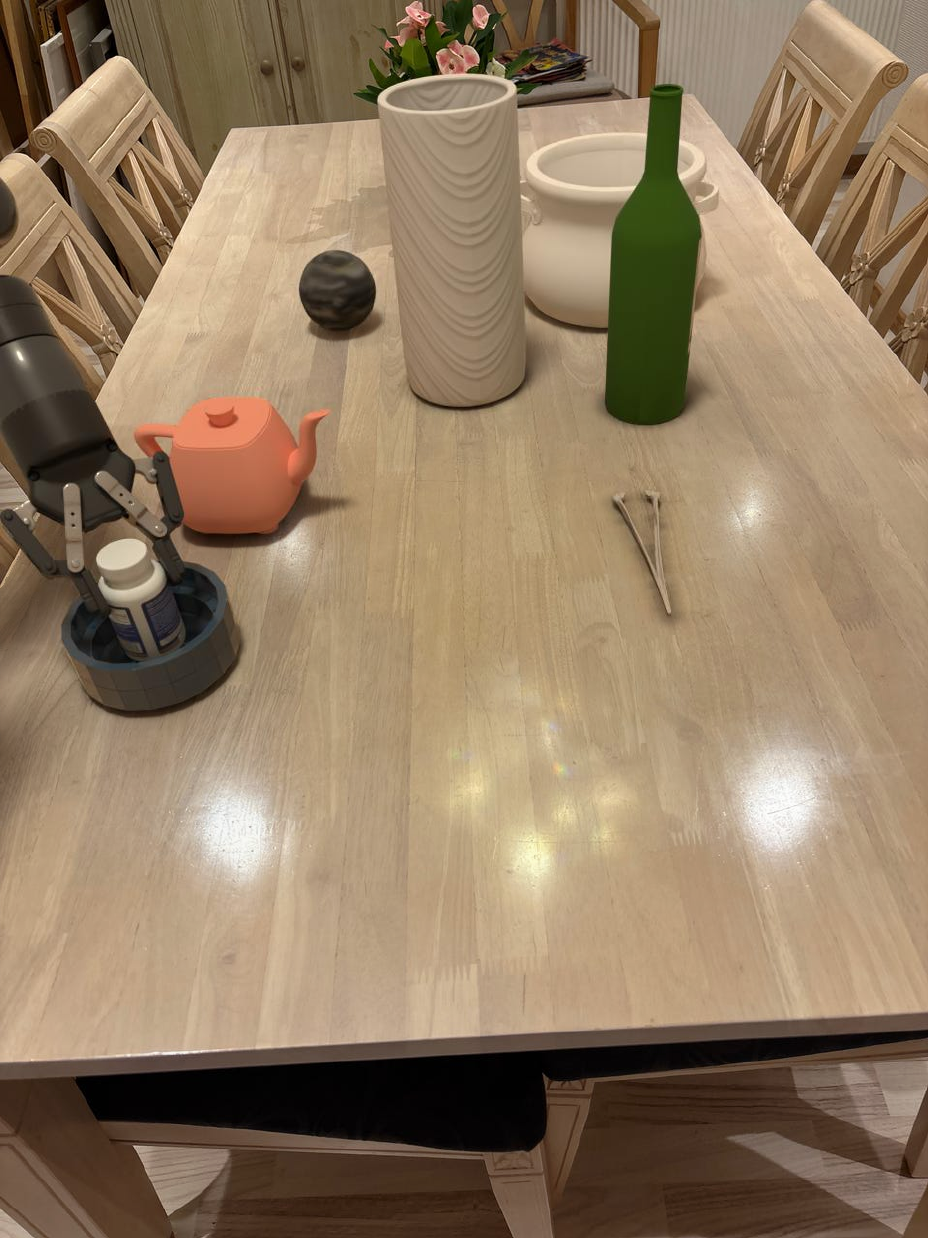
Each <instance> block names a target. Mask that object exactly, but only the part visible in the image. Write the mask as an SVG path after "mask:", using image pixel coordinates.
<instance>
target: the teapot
mask: <svg viewBox="0 0 928 1238" xmlns="http://www.w3.org/2000/svg"><path fill="white" fill-rule="evenodd" d="M330 413H331V410H330V409H328V408H327V409H326V408H325V409H318V410H314V411H312V412H309V413H307V414H306V415H304V416H303V418H302V419H301V421H300V423H299V429H298V443H297V441H296V439H295V437H294V435H293V433H292V431H291V430H290V428H289V426H288V424H287V423H286V422H285V420H284V418H283V417H282V416H281V414H280V413H279V412H278V411H277V409H276V408H275V406H274V405H272V404H271V402H270V401H268V400H267V399H265V398H262V397H251V396H250V397H249V396H229V397H228V396H227V397H226V396H225V397H211V398H205V399H202V400H200V401H198V402H197V403H195V404H194V405H192V406H191V407H190V408H189V409H188V410H187V411H186V412H185V413H184V415H183V416H182V417H181V419H180V420H179V422H178V424H177V425H175V424H167V423H143V424H141V425H139V426H137V427H136V428H135V429H134V432H133V438H134V439H133V440H134V441H135V443H136V444H137V446H138V447H139V449H140V451H141V452H143V453H144V454H145V456H147V457H153V455H154V454H155V453H156V452H158V451H162V452H165V451H164V450H163V449H162V446H161V445H160V444H159V443H158V442H157V440H156V439H155V438H168V439H172V441H171V448H170V453H169V454H170V455H168V458H169V462H170V465H171V469H172V472H173V476H174V479H175V483H176V486H177V490H178V493H179V497H180V500H181V504H182V507H183V511H184V518H183V520H182V523H183V524H184V525H186V526H187V527H189V528H190V529H192V530H193V531H196V532H200V533H202V534H224V535H225V534H227V535H229V534H231V535H232V534H252V533H253V534H254V533H258V534H260V535H268V534H271V533H274V532H275V531H276V530H277V529H278V528H279V523H281V521H282V520H284V518H285V517H286V516H287V514H288V513H289V512H290V510H291V509H292V507H293V505H294V504H295V502H296V500H297V497H298V496H299V493H300V490H301V487H302V484H303V481H305V480H307V478H308V477H310V475H311V473H312V472H313V470H314V468H315V466H316V462H317V456H318V455H317V454H318V451H317V450H318V449H317V438H316V429H317V426H318V425H319V423H320V421H321V420H323V419H324V418H325V417H327V416H328V415H329V414H330Z"/></svg>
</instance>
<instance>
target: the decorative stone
mask: <svg viewBox="0 0 928 1238" xmlns="http://www.w3.org/2000/svg"><path fill="white" fill-rule="evenodd" d="M298 296H299V300H300V302H301V303H300V304H301V305H302V308H303V310H304V311H305V313H306V315H307V316H308V317H309V318H310V320H311V321H313V322H314V323H316V324H317V325H318V326H320V328H323V329H326V330H329V331H333V332H343V331H350V330H352V329H355V328H356V327H359V326H360V325H362V324H363V323H364V322H365V321H366V320H367V318H368V317H369V316H370V315H371V313H372V311H373V309H374V306H375V303H376V299H377V298H376V297H377V286H376V280H375V278H374V275H373V273H372V272H371V270H370V268H369V266H368V265H367V263H365V261H363V260H362V258H360V257H358V256H357V255H355V254H354V253H352V252H349V251H346V250H343V249H342V250H340V249H330V250H326V251H323V252H321V253H319V254H317V255H315V256H314V257H313V258H311V259H310V260H309V261H308V263H307V264H306V265H305V266H304V268H303V270H302V273H301V276H300V280H299V283H298Z"/></svg>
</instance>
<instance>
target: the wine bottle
mask: <svg viewBox="0 0 928 1238" xmlns="http://www.w3.org/2000/svg"><path fill="white" fill-rule="evenodd" d="M683 93H684V88H683V86H681V85H679V84H675V83H663V84H657V85H653V86H652V87H651V88H650V89H649V105H648V118H647V128H646V129H647V131H646V134H647V143H646V156H645V169H644V173H643V176H642V178H641V180H640V182H639V183H638V185H637V186H636V188H635V189H634V191H633V192H632V194H631V195H630V197H629V199H628V200H627V202H626V203H625V205H624V206H623V208H622V209H621V211H620V212H619V214H618V215H617V217H616V219H615V223H614V227H613V230H612V237H611V262H610V288H609V313H608V328H607V340H606V341H607V342H606V346H607V347H606V363H605V364H606V365H605V366H606V368H605V392H604V403H605V407H606V409H607V412H608V413H609V414H610V415H611V416H613V417H614V418H616V419H617V420H619V421H622V422H624V423H625V422H626V423H628V424H635V425H647V426H648V425H658V424H662V423H665V422H669V421H671V420H673V419H675V418H676V417H678V415H679V414H681V412H682V410H683V408H684V406H685V403H686V402H685V401H686V395H687V394H686V393H687V386H688V385H687V383H688V375H689V366H690V365H689V363H690V355H691V347H692V336H693V328H694V317H695V309H696V308H695V307H696V298H697V290H698V288H697V279H698V270H699V260H700V250H701V240H702V232H701V226H700V220H701V217H700V215H698V213H697V211H696V210H695V208H694V206H693V204H692V202H691V200H690V198H689V196H688V194H687V192H686V190H685V189H684V187H683V185H682V183H681V181H680V179H679V176H678V172H677V169H678V154H679V139H680V138H681V123H682V122H681V121H682V106H683ZM680 140H681V139H680ZM699 217H700V218H699ZM696 289H697V290H696Z"/></svg>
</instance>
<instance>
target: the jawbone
mask: <svg viewBox="0 0 928 1238" xmlns="http://www.w3.org/2000/svg"><path fill="white" fill-rule="evenodd" d="M643 491H644V494H645V497H646V498H647V499H649V500H651V502H652V513H653V514H652V517H653V527H654V528H653V536H654V553H655V554H654V555H655V557H654V558H655V566H654V564H653V562H652V560H651V558H650V556H649V554H648V551H647V549H646V547H645V544H644V542H643V540H642V538H641V536H640V534H639V533H638V530H637V529H636V526H635V524H634V523H633V521H632V518H631V514H630V513H629V511H628V509H627V508H626V505H625V504H624V503H623V499H624V498H625V495H626V493H627V492H626V491H621V492H619V493H616V494H614V495H612V496H611V497H612V500H613V501H614V503H615V504H616V506H618V508H619V510H620V511H621V513H622V515H623V517H624V518H625V521H626V522H627V524H628V525H629V527H630V529H631V530H632V532H633V535H634V537H635V538H636V541H637V542H638V544H639V547H640V549H641V551H642V553H643V555H644V556H645V559H646V561H647V563H648V565H649V568H650V570H651V573H652V576H653V577H654V580H655V583H656V585H657V589H658V591H659V593H660V595H661V599H662V601H663V604H664V606H665V610H666V612H667V615H672V609H671V604H670V599H669V594H668V590H667V589H668V588H667V584H666V580H665V573H664V565H663V558H662V557H663V556H662V548H661V537H660V536H661V535H660V517H659V514H660V513H659V500H660V498H661V492H660V491H655V490H648V489H645V490H643Z"/></svg>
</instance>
